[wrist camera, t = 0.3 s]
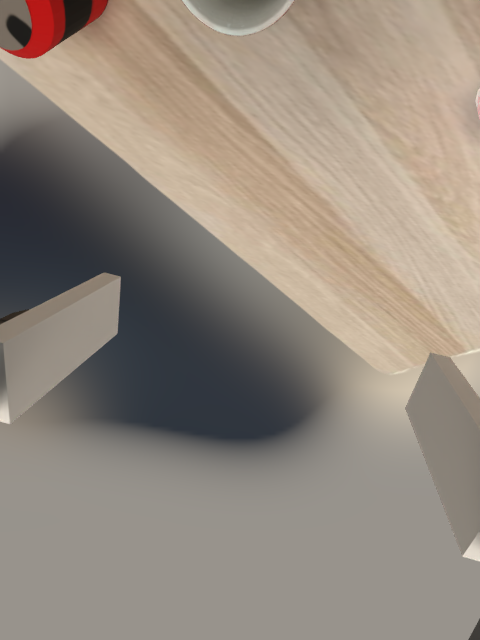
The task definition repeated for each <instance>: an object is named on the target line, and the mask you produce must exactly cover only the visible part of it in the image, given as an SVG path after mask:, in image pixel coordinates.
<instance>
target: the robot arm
mask: <svg viewBox="0 0 480 640" xmlns="http://www.w3.org/2000/svg"><path fill="white" fill-rule="evenodd" d="M120 279H121V277H119V276H115V275H111V274H107V273H102V274H100V275H99V276H96V277H95V278H93V279H91V280H89V281H87V282H85V283H82V284H80V285H79V286H77V287H74V288H72V289H71V290H69V291H67V292H64V293H62V294H60V295H59V296H56V297H54V298H52V299H50V300H48V301H46V302H44V303H43V304H41V305H39V306H36V307H34V308H33V309H30V310H29V309H28V310H24V311H19V312H15V313H12V314H10V315H7V316H5V317H3V318H1V319H0V421H1V422H4V423H7V424H11V423H12V422H13V421H14V420H15V419H17V418H18V417H19V416H20V415H21V414H22V413H24V412H25V411H26V410H27V409H28V408H30V407H31V406H32V405H33V404H34V403H36V402H37V401H38V400H39V399H40V398H42V396H44V395H45V394H46V393H47V392H49V391H50V390H51V389H52V388H53V387H55V386H56V385H57V384H58V383H59V382H60V381H62V380H63V379H64V378H65V377H66V376H68V375H69V374H70V373H71V372H72V371H73V370H75V369H76V368H77V367H78V366H79V365H80V364H82V363H83V362H84V361H85V360H86V359H88V358H89V357H90V356H91V355H92V354H94V353H95V352H96V351H97V350H98V349H100V348H101V347H102V346H103V345H104V344H105V343H107V342H108V341H109V340H110V339H111V338H113V337H114V336H115V335H116V334H117V332H118V313H119V298H120ZM405 409H406V412H407V413H408V416H409V419H410V422H411V425H412V427H413V430H414V432H415V435H416V437H417V440H418V443H419V445H420V448H421V450H422V453H423V456H424V458H425V461H426V463H427V466H428V469H429V471H430V474H431V476H432V479H433V481H434V484H435V486H436V489H437V492H438V494H439V497H440V500H441V502H442V505H443V507H444V510H445V513H446V515H447V518H448V520H449V523H450V525H451V528H452V531H453V533H454V536H455V538H456V541H457V544H458V546H459V549H460V551H461V554H462V556H463V557H466V558H470V559H473V560H476V561H480V398H479V397H478V395H477V394H476V392H475V391H474V390H473V388H472V387H471V385H470V384H469V383H468V381H467V380H466V379H465V377H464V376H463V374H462V373H461V372H460V370H459V369H458V368H457V366H456V365H455V363H454V362H453V361H452V359H451V358H450V357H446V356H442V355H438V354H434V353H430V355H429V357H428V359H427V361H426V364H425V366H424V368H423V370H422V372H421V375H420V377H419V379H418V381H417V383H416V386H415V388H414V390H413V393H412V394H411V397H410V399H409V401H408V403H407V405H406V408H405ZM469 640H480V619H479V621H478V623H477V625H476V627H475V629H474V630H473V632H472V634H471V636H470V638H469Z"/></svg>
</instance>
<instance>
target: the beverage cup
mask: <svg viewBox="0 0 480 640" xmlns="http://www.w3.org/2000/svg"><path fill="white" fill-rule="evenodd" d="M475 101H476V106H477V110H478V114H479V119H480V88H479V90H478V92H477V96H476V100H475Z"/></svg>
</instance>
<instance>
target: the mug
mask: <svg viewBox="0 0 480 640" xmlns="http://www.w3.org/2000/svg"><path fill="white" fill-rule="evenodd" d="M294 1H295V0H182V2H183V3H184V5H185V6H186V7H187V8H188V9H189V11H190V12H191V13H192V14H193V15H194V16H195V17H196V18H197V19H198V20H199V21H201V22H202V23H203V24H204V25H206V26H208V27H209V28H211V29H213V30H215V31H217V32H219V33H223V34H225V35H230V36H246V35H251V34H255V33H258V32H260V31H262V30H264V29H266V28H268V27H270V26H271V25H273V24H274V23H275V22H277V21H278V20H279V19H280V18H281V17H282V16H283V15H284V14H285V13H286V12H287V11H288V9H289V8H290V7H291V5H292V4H293V3H294Z"/></svg>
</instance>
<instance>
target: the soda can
mask: <svg viewBox="0 0 480 640" xmlns="http://www.w3.org/2000/svg"><path fill="white" fill-rule="evenodd" d="M107 1H108V0H0V48H2V49H4V50H5V51H7V52H9V53H10V54H13V55H15V56H18V57H22V58H36V57H39V56H42V55H43V54H45V53H46V52H48V51H49V50H51V49H52V48H54V47H55V46H56V45H58V44H59V43H61V42H62V41H64V40H65V39H67V38H68V37H70V36H71V35H73V34H74V33H76V32H77V31H79V30H80V29H82V28H83V27H85V26H86V25H88V24H89V23H91V22H92V21H94V20H95V19H97V18H98V17H99V16H100V15H101V14H102V13H103V11H104V10H105V7H106V4H107Z"/></svg>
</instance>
